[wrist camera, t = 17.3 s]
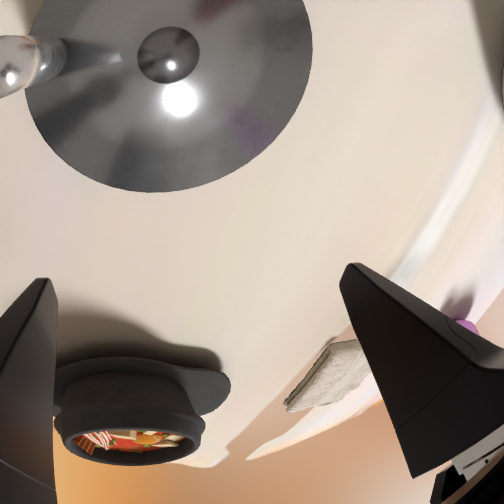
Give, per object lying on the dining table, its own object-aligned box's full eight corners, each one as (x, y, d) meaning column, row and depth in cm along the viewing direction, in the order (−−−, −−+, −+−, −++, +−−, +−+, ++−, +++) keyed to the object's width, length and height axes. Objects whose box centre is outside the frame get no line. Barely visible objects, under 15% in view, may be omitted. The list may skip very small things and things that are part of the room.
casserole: (53, 414, 32) (53, 466, 26) (2, 336, 22) (-12, 409, 15) (217, 409, 41) (232, 459, 35) (239, 333, 30) (265, 404, 24)
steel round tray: (165, 227, 20) (176, 307, 15) (-12, 85, 10) (-85, 117, 5) (345, 73, 17) (425, 97, 11) (190, -102, 7) (217, -165, 1)
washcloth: (279, 403, 47) (285, 419, 45) (326, 338, 37) (337, 357, 35) (334, 391, 52) (341, 405, 49) (387, 329, 42) (397, 344, 40)
